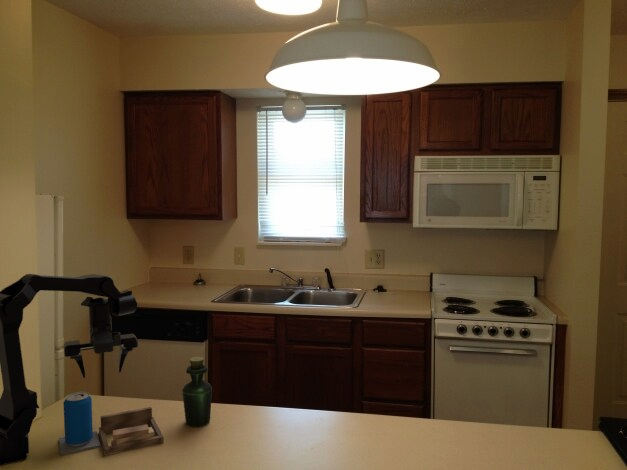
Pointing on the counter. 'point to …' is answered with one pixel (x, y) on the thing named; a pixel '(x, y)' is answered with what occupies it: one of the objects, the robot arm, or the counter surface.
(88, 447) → the rubber mat
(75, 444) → the beverage can
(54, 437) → the counter surface
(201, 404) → the potion bottle
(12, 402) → the robot arm
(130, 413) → the rack
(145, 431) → the offcut stack
